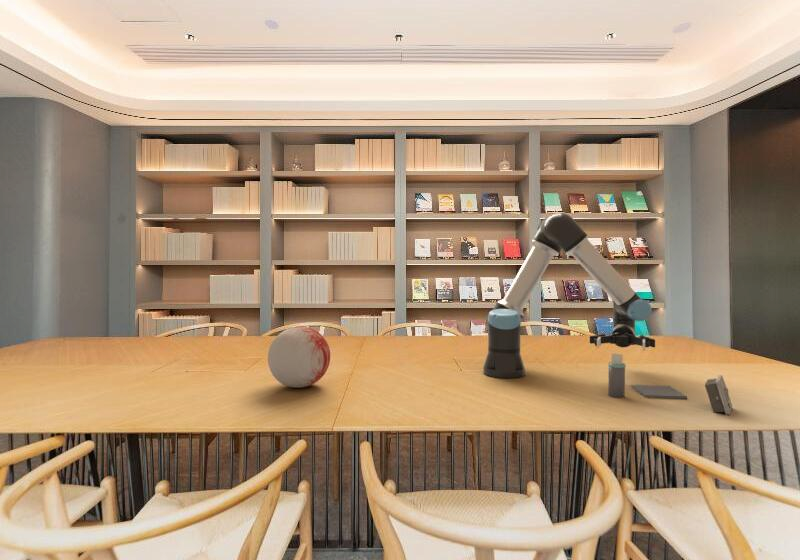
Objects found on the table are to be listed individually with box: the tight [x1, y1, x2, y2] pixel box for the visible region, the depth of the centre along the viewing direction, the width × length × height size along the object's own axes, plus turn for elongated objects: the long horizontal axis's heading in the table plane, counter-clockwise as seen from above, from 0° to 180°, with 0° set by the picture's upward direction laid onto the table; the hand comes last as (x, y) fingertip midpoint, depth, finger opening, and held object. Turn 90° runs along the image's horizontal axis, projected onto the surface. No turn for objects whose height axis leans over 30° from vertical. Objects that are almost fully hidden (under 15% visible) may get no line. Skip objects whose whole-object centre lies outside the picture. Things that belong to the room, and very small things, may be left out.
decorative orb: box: [267, 326, 331, 389], centre depth 156 cm, size 21×20×20 cm
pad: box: [630, 384, 688, 400], centre depth 149 cm, size 12×12×1 cm
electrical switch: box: [704, 374, 733, 416], centre depth 132 cm, size 9×5×9 cm, turn 141°
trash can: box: [607, 353, 626, 399], centre depth 146 cm, size 5×5×13 cm
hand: (620, 345), depth 154 cm, fingers open, 13 cm apart
